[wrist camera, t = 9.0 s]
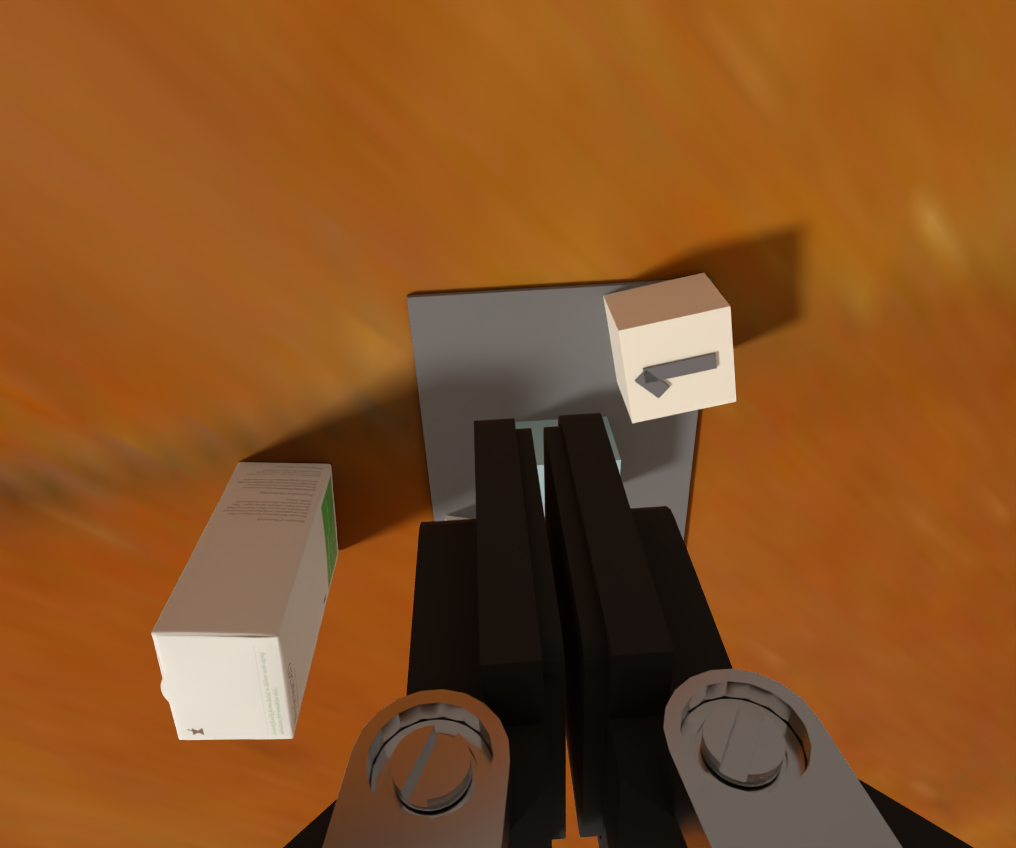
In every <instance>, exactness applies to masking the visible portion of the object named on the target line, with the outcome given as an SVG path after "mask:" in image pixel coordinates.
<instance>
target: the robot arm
mask: <svg viewBox="0 0 1016 848" xmlns="http://www.w3.org/2000/svg"><path fill="white" fill-rule="evenodd" d="M543 443H544V495H545V516H544V509H543V503H542V496H541V489H540V483H539V476H538V469H537V463H536V456H535V449H534V442H533V436H532V430H531V428H522V429H516V427H515V419H514V418H509V419H493V420H477V421H474V452H475V491H476V519H463V520H448V521H433V522H421V524H420V529H419V539H418V552H417V565H416V578H415V592H414V605H413V618H412V631H411V644H410V657H409V670H408V684H407V696H404V697H402V698H399V699H397V700H395V701H394V702H392V703H391V704H389V705H388V706H386V707H385V708H383V709H382V710H380V711H379V712H377V713H376V715H375V716H374V717H373V718H372V719H371V720H370V721H369V722H368V724H367V725H366V726H365V727H364V728H363V729H362V731H361V733H360V735H359V737H358V739H357V741H356V743H355V745H354V747H353V749H352V751H351V755H350V758H349V761H348V765H347V768H346V771H345V775H344V778H343V781H342V784H341V788H340V791H339V794H338V798H337V800H336V801H334V802H333V803H332V804H331V805H330V806H329V807H328V808H327V809H326V810H324V811H323V812H322V813H321V814H320V815H319V816H318V817H317V818H316V819H315V820H313V821H312V822H311V823H310V824H309V825H308V826H307V827H306V828H305V829H303V830H302V831H301V832H300V833H299V834H298V835H297V836H296V837H295V838H293V839H292V840H291V841H290V842H289V843H288V844H287V845H286V846H285V847H283V848H552V839H564V838H565V836H566V739H567V747H568V754H569V761H570V769H571V776H572V784H573V791H574V799H575V806H576V813H577V821H578V828H579V833H580V837H591V836H597V837H598V843H599V848H973V847H971V846H970V845H968V844H966V843H965V842H963V841H961V840H960V839H958V838H956V837H955V836H953V835H951V834H950V833H948V832H946V831H945V830H943V829H941V828H940V827H938V826H936V825H935V824H933V823H931V822H930V821H928V820H926V819H925V818H923V817H921V816H920V815H918V814H916V813H914V812H913V811H911V810H909V809H908V808H906V807H904V806H903V805H901V804H899V803H898V802H896V801H894V800H893V799H891V798H889V797H888V796H886V795H884V794H883V793H881V792H879V791H878V790H876V789H874V788H873V787H871V786H869V785H868V784H866V783H864V782H863V781H861V780H859V779H858V778H857V777H856V775H855V774H854V772H853V771H852V769H851V768H850V766H849V765H848V763H847V762H846V760H845V759H844V757H843V755H842V754H841V752H840V751H839V749H838V748H837V746H836V745H835V743H834V742H833V740H832V739H831V737H830V736H829V734H828V732H827V731H826V729H825V728H824V726H823V725H822V723H821V722H820V720H819V719H818V717H817V716H816V715H815V714H814V713H813V711H812V710H811V709H810V708H809V707H808V706H807V704H806V703H805V702H804V701H803V700H802V699H801V698H800V697H799V696H798V695H796V694H795V693H793V692H792V691H791V690H789V689H788V688H786V687H785V686H784V685H782V684H781V683H779V682H777V681H774V680H772V679H770V678H767V677H765V676H763V675H760V674H758V673H754V672H748V671H743V670H737V669H733V668H732V666H731V663H730V661H729V658H728V655H727V653H726V650H725V648H724V645H723V642H722V640H721V637H720V635H719V632H718V629H717V627H716V624H715V622H714V619H713V616H712V614H711V611H710V608H709V606H708V603H707V601H706V598H705V595H704V593H703V590H702V588H701V585H700V582H699V580H698V577H697V575H696V572H695V569H694V567H693V564H692V562H691V559H690V556H689V554H688V551H687V549H686V546H685V543H684V541H683V538H682V536H681V533H680V530H679V528H678V525H677V523H676V520H675V517H674V515H673V513H672V511H671V509H670V508H668V507H667V506H659V507H644V508H630V505H629V502H628V499H627V495H626V492H625V489H624V486H623V483H622V479H621V476H620V473H619V470H618V466H617V463H616V460H615V457H614V453H613V450H612V447H611V444H610V441H609V437H608V434H607V431H606V428H605V424H604V421H603V418H602V415H601V413H588V414H572V415H559V418H558V426H553V427H544V431H543Z"/></svg>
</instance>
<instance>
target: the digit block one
mask: <svg viewBox="0 0 1016 848" xmlns="http://www.w3.org/2000/svg"><path fill="white" fill-rule="evenodd" d="M603 297H604V303H605V310H606V316H607V322H608V328H609V335H610V341H611V347H612V354H613V360H614V366H615V372H616V379H617V383H618V386H619V389H620V391H621V394H622V397H623V399H624V402H625V405H626V407H627V410H628V413H629V415H630V418H631V421H632V423H637V422H642V421H646V420H651V419H656V418H661V417H665V416H670V415H675V414H679V413H684V412H689V411H694V410H698V409H703V408H708V407H713V406H717V405H722V404H727V403H731V402H736V390H735V373H734V356H733V340H732V323H731V307H730V305H729V304H728V302H727V301H726V300H725V299H724V297H723V296H722V295H721V293H720V292H719V291H718V290H717V288H716V287H715V286H714V285H713V283H712V282H711V281H710V279H709V278H708V277H707V276H706V274H705V273H700V274H696V275H691V276H687V277H682V278H678V279H673V280H669V281H664V282H660V283H655V284H651V285H647V286H642V287H638V288H633V289H629V290H624V291H620V292H615V293H611V294H606V295H603Z"/></svg>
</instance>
